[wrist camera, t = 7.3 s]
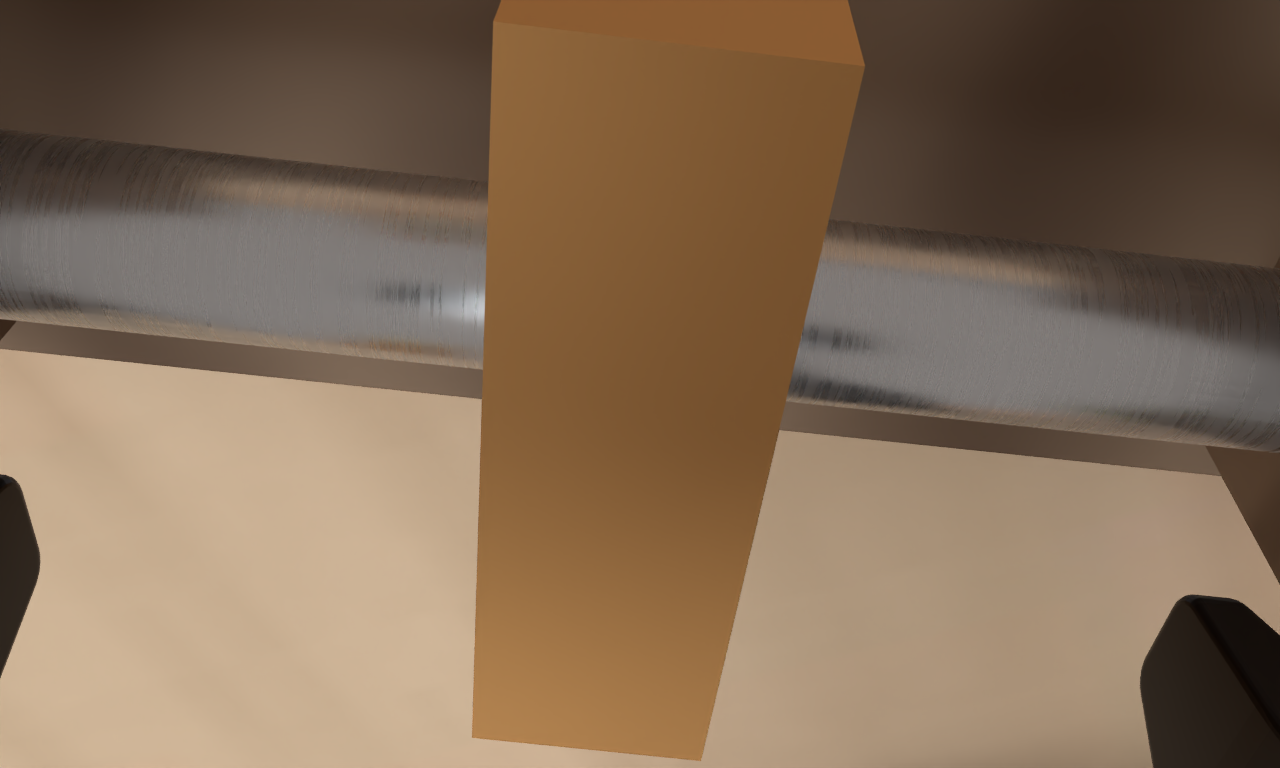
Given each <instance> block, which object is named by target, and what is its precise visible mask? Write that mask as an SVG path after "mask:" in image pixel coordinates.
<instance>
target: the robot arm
mask: <svg viewBox="0 0 1280 768" xmlns="http://www.w3.org/2000/svg"><path fill="white" fill-rule="evenodd" d="M39 570H40V552H39V547H38V544H37V540H36V537H35V533H34V530H33V526H32V523H31V520H30V516H29V513H28V509H27V506H26V502H25V499H24V495H23V492H22V490H21V487H20V485H19V484H18V483H17V481H16V480H15V479H13V478H12V477H9V476H7V475H1V474H0V678H1V675H2V672H3V670H4V667H5V664H6V662H7V659H8V657H9V654H10V651H11V649H12V646H13V643H14V641H15V638H16V636H17V633H18V630H19V628H20V625H21V622H22V620H23V617H24V615H25V612H26V609H27V607H28V604H29V601H30V599H31V596H32V594H33V591H34V588H35V586H36V583H37V580H38V575H39ZM1140 689H1141V697H1142V703H1143V709H1144V715H1145V721H1146V727H1147V733H1148V739H1149V745H1150V751H1151V757H1152V763H1153V768H1280V635H1279V634H1278V633H1276V632H1275V631H1274V630H1273V629H1272V628H1271V627H1270V626H1269V625H1267V624H1266V623H1265V622H1264V621H1263V620H1262V619H1261V618H1259V617H1258V616H1257V615H1256V614H1255V613H1254V612H1253V611H1252V610H1250V609H1249V608H1248V607H1247V606H1245V605H1244V604H1243V603H1241V602H1239V601H1237V600H1234V599H1230V598H1221V597H1211V596H1202V595H1187V596H1184V597H1183V598H1181V599H1180V600H1178V601H1177V602H1176V604H1175V605H1174V607H1173V608H1172V610H1171V612H1170V614H1169V616H1168V618H1167V619H1166V621H1165V623H1164V625H1163V627H1162V628H1161V630H1160V632H1159V634H1158V636H1157V638H1156V639H1155V641H1154V643H1153V645H1152V647H1151V649H1150V650H1149V652H1148V654H1147V656H1146V658H1145V660H1144V663H1143V666H1142V670H1141V677H1140Z"/></svg>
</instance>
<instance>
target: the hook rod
mask: <svg viewBox="0 0 1280 768" xmlns="http://www.w3.org/2000/svg"><path fill="white" fill-rule="evenodd" d="M487 216H488V182H485V181H476V180H466V179H457V178H448V177H439V176H430V175H421V174H411V173H402V172H393V171H384V170H375V169H366V168H357V167H347V166H338V165H329V164H320V163H311V162H302V161H293V160H283V159H274V158H265V157H256V156H247V155H238V154H228V153H219V152H210V151H201V150H192V149H183V148H174V147H164V146H155V145H146V144H137V143H128V142H119V141H110V140H100V139H91V138H82V137H73V136H64V135H55V134H45V133H36V132H27V131H18V130H9V129H0V319H6V320H16V321H25V322H35V323H44V324H54V325H63V326H73V327H82V328H92V329H101V330H111V331H120V332H130V333H139V334H149V335H158V336H168V337H177V338H187V339H197V340H206V341H216V342H225V343H235V344H244V345H254V346H263V347H273V348H282V349H292V350H301V351H311V352H320V353H330V354H339V355H349V356H358V357H368V358H378V359H387V360H397V361H406V362H416V363H425V364H435V365H444V366H454V367H463V368H473V369H482V370H483V351H484V317H485V283H486V249H487ZM786 401H787V402H797V403H806V404H816V405H825V406H835V407H844V408H854V409H863V410H873V411H882V412H892V413H901V414H911V415H921V416H930V417H940V418H949V419H959V420H968V421H978V422H987V423H997V424H1006V425H1016V426H1025V427H1035V428H1044V429H1054V430H1063V431H1073V432H1082V433H1092V434H1102V435H1111V436H1121V437H1130V438H1140V439H1149V440H1159V441H1168V442H1178V443H1187V444H1197V445H1206V446H1216V447H1225V448H1235V449H1244V450H1254V451H1263V452H1273V453H1280V268H1272V267H1262V266H1253V265H1244V264H1235V263H1226V262H1217V261H1208V260H1198V259H1189V258H1180V257H1171V256H1162V255H1153V254H1144V253H1134V252H1125V251H1116V250H1107V249H1098V248H1089V247H1079V246H1070V245H1061V244H1052V243H1043V242H1034V241H1025V240H1015V239H1006V238H997V237H988V236H979V235H970V234H961V233H951V232H942V231H933V230H924V229H915V228H906V227H896V226H887V225H878V224H869V223H860V222H851V221H842V220H832V219H829V221H828V225H827V230H826V234H825V238H824V242H823V246H822V251H821V255H820V259H819V263H818V268H817V272H816V276H815V280H814V285H813V289H812V293H811V297H810V301H809V306H808V310H807V314H806V318H805V323H804V327H803V331H802V335H801V339H800V344H799V348H798V352H797V356H796V361H795V365H794V369H793V373H792V378H791V382H790V386H789V390H788V394H787V399H786Z"/></svg>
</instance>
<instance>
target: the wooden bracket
mask: <svg viewBox="0 0 1280 768" xmlns="http://www.w3.org/2000/svg"><path fill="white" fill-rule="evenodd" d="M864 69H865V64H864V60H863V56H862V52H861V49H860V45H859V41H858V37H857V34H856V30H855V26H854V22H853V18H852V15H851V11H850V7H849V3H848V0H501V2H500V5H499V8H498V10H497V13H496V16H495V18H494V21H493V46H492V80H491V114H490V148H489V182H488V216H487V249H486V283H485V317H484V351H483V385H482V419H481V453H480V487H479V520H478V554H477V588H476V622H475V656H474V690H473V724H472V738H480V739H490V740H500V741H509V742H519V743H529V744H539V745H549V746H559V747H569V748H579V749H589V750H598V751H608V752H618V753H628V754H638V755H648V756H658V757H668V758H677V759H687V760H697V761H701V758H702V754H703V750H704V745H705V741H706V737H707V733H708V728H709V724H710V720H711V716H712V712H713V707H714V703H715V699H716V695H717V690H718V686H719V682H720V678H721V673H722V669H723V665H724V661H725V657H726V652H727V648H728V644H729V640H730V635H731V631H732V627H733V623H734V619H735V614H736V610H737V606H738V602H739V597H740V593H741V589H742V585H743V580H744V576H745V572H746V568H747V564H748V559H749V555H750V551H751V547H752V542H753V538H754V534H755V530H756V526H757V521H758V517H759V513H760V509H761V504H762V500H763V496H764V492H765V487H766V483H767V479H768V475H769V471H770V466H771V462H772V458H773V454H774V449H775V445H776V441H777V437H778V433H779V428H780V424H781V420H782V416H783V411H784V407H785V403H786V399H787V394H788V390H789V386H790V382H791V378H792V373H793V369H794V365H795V361H796V356H797V352H798V348H799V344H800V339H801V335H802V331H803V327H804V323H805V318H806V314H807V310H808V306H809V301H810V297H811V293H812V289H813V285H814V280H815V276H816V272H817V268H818V263H819V259H820V255H821V251H822V246H823V242H824V238H825V234H826V230H827V225H828V221H829V217H830V213H831V208H832V204H833V200H834V196H835V192H836V187H837V183H838V179H839V175H840V170H841V166H842V162H843V158H844V153H845V149H846V145H847V141H848V137H849V132H850V128H851V124H852V120H853V115H854V111H855V107H856V103H857V99H858V94H859V90H860V86H861V82H862V77H863V73H864Z"/></svg>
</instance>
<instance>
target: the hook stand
mask: <svg viewBox="0 0 1280 768" xmlns="http://www.w3.org/2000/svg"><path fill="white" fill-rule="evenodd" d="M500 2H501V0H0V129H9V130H18V131H27V132H36V133H45V134H55V135H64V136H73V137H82V138H91V139H100V140H110V141H119V142H128V143H137V144H146V145H155V146H164V147H174V148H183V149H192V150H201V151H210V152H219V153H228V154H238V155H247V156H256V157H265V158H274V159H283V160H293V161H302V162H311V163H320V164H329V165H338V166H347V167H357V168H366V169H375V170H384V171H393V172H402V173H411V174H421V175H430V176H439V177H448V178H457V179H466V180H476V181H485V182H489V148H490V114H491V80H492V46H493V21H494V18H495V16H496V13H497V10H498V8H499V5H500ZM848 3H849V7H850V11H851V15H852V18H853V22H854V26H855V30H856V34H857V37H858V41H859V45H860V49H861V52H862V56H863V60H864V64H865V69H864V73H863V77H862V82H861V86H860V90H859V94H858V99H857V103H856V107H855V111H854V115H853V120H852V124H851V128H850V132H849V137H848V141H847V145H846V149H845V153H844V158H843V162H842V166H841V170H840V175H839V179H838V183H837V187H836V192H835V196H834V200H833V204H832V208H831V213H830V217H829V219H832V220H842V221H851V222H860V223H869V224H878V225H887V226H896V227H906V228H915V229H924V230H933V231H942V232H951V233H961V234H970V235H979V236H988V237H997V238H1006V239H1015V240H1025V241H1034V242H1043V243H1052V244H1061V245H1070V246H1079V247H1089V248H1098V249H1107V250H1116V251H1125V252H1134V253H1144V254H1153V255H1162V256H1171V257H1180V258H1189V259H1198V260H1208V261H1217V262H1226V263H1235V264H1244V265H1253V266H1262V267H1272V268H1280V0H848ZM0 349H8V350H18V351H27V352H37V353H47V354H56V355H66V356H75V357H85V358H95V359H104V360H114V361H123V362H133V363H143V364H152V365H162V366H171V367H181V368H190V369H200V370H210V371H219V372H229V373H238V374H248V375H258V376H267V377H277V378H286V379H296V380H306V381H315V382H325V383H334V384H344V385H353V386H363V387H373V388H382V389H392V390H401V391H411V392H421V393H430V394H440V395H449V396H459V397H469V398H478V399H482V385H483V370H482V369H473V368H463V367H454V366H444V365H435V364H425V363H416V362H406V361H397V360H387V359H378V358H368V357H358V356H349V355H339V354H330V353H320V352H311V351H301V350H292V349H282V348H273V347H263V346H254V345H244V344H235V343H225V342H216V341H206V340H197V339H187V338H177V337H168V336H158V335H149V334H139V333H130V332H120V331H111V330H101V329H92V328H82V327H73V326H63V325H54V324H44V323H35V322H25V321H16V320H6V319H0ZM779 430H785V431H795V432H804V433H814V434H823V435H833V436H842V437H852V438H862V439H871V440H881V441H890V442H900V443H910V444H919V445H929V446H938V447H948V448H958V449H967V450H977V451H986V452H996V453H1005V454H1015V455H1025V456H1034V457H1044V458H1053V459H1063V460H1073V461H1082V462H1092V463H1101V464H1111V465H1121V466H1130V467H1140V468H1149V469H1159V470H1168V471H1178V472H1188V473H1197V474H1207V475H1216V476H1222V478H1223V480H1224V482H1225V484H1226V486H1227V487H1228V489H1229V491H1230V493H1231V495H1232V497H1233V499H1234V500H1235V502H1236V504H1237V506H1238V508H1239V510H1240V511H1241V513H1242V515H1243V517H1244V519H1245V521H1246V523H1247V524H1248V526H1249V528H1250V530H1251V532H1252V534H1253V536H1254V537H1255V539H1256V541H1257V543H1258V545H1259V547H1260V549H1261V550H1262V552H1263V554H1264V556H1265V558H1266V560H1267V561H1268V563H1269V565H1270V567H1271V569H1272V571H1273V573H1274V574H1275V576H1276V578H1277V580H1278V582H1279V584H1280V453H1273V452H1263V451H1254V450H1244V449H1235V448H1225V447H1216V446H1206V445H1197V444H1187V443H1178V442H1168V441H1159V440H1149V439H1140V438H1130V437H1121V436H1111V435H1102V434H1092V433H1082V432H1073V431H1063V430H1054V429H1044V428H1035V427H1025V426H1016V425H1006V424H997V423H987V422H978V421H968V420H959V419H949V418H940V417H930V416H921V415H911V414H901V413H892V412H882V411H873V410H863V409H854V408H844V407H835V406H825V405H816V404H806V403H797V402H787V401H786V403H785V407H784V411H783V416H782V420H781V424H780V428H779Z"/></svg>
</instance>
